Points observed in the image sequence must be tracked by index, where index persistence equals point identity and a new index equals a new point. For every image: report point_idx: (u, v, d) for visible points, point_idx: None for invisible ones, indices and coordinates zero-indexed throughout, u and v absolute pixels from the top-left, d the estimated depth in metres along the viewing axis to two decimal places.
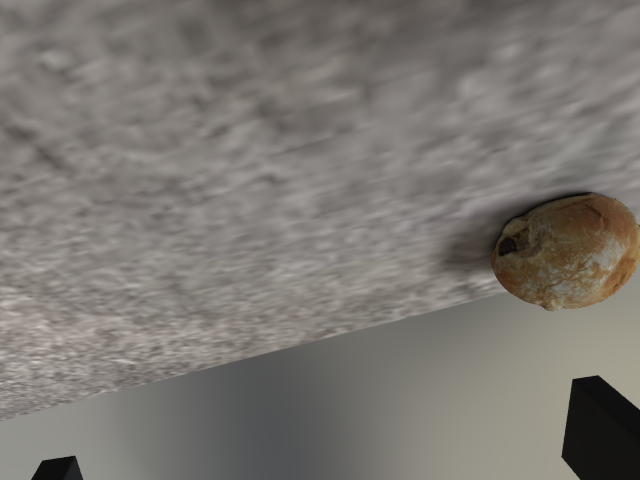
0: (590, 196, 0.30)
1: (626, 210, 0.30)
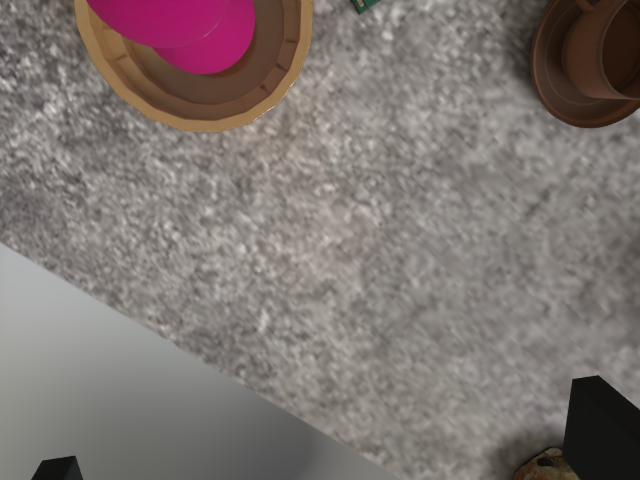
0: None
1: None
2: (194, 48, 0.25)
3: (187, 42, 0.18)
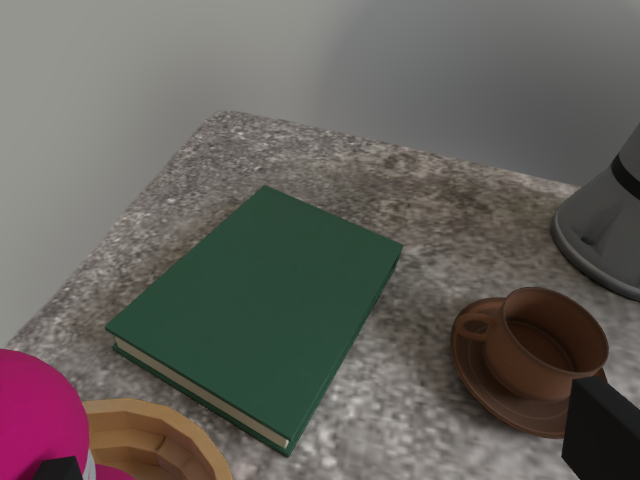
0: None
1: None
2: None
3: None
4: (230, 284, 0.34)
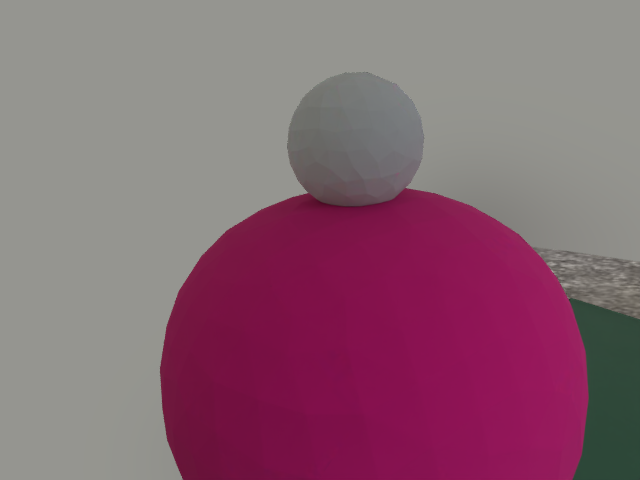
0: None
1: None
2: None
3: None
4: None
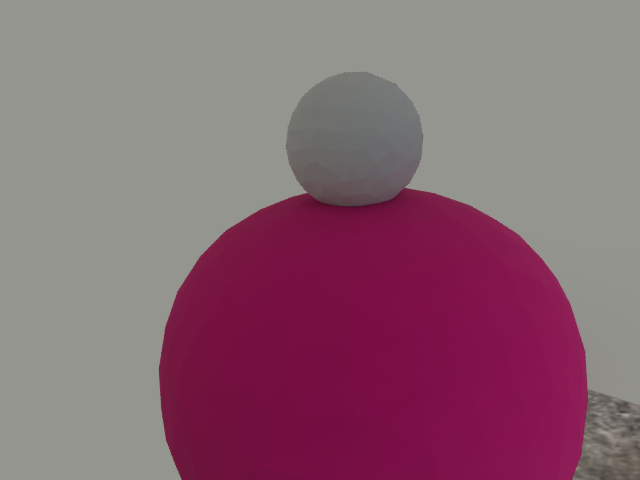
0: None
1: None
2: None
3: None
4: None
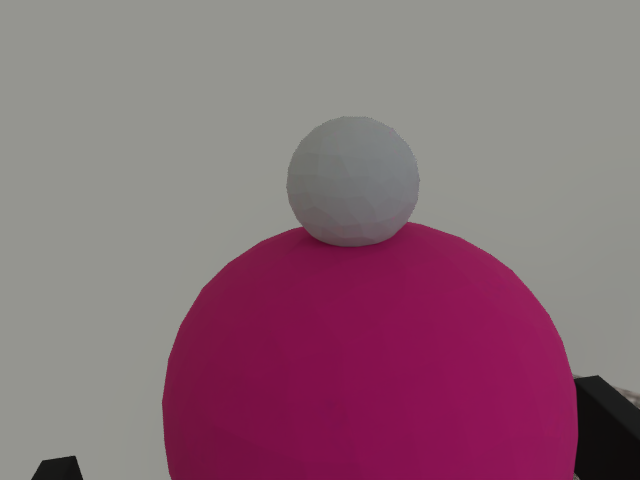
0: None
1: None
2: None
3: None
4: None
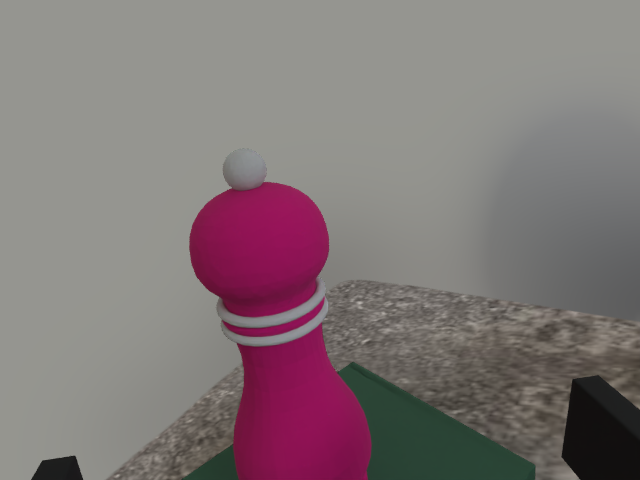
0: None
1: None
2: (297, 418, 0.20)
3: (285, 260, 0.17)
4: None
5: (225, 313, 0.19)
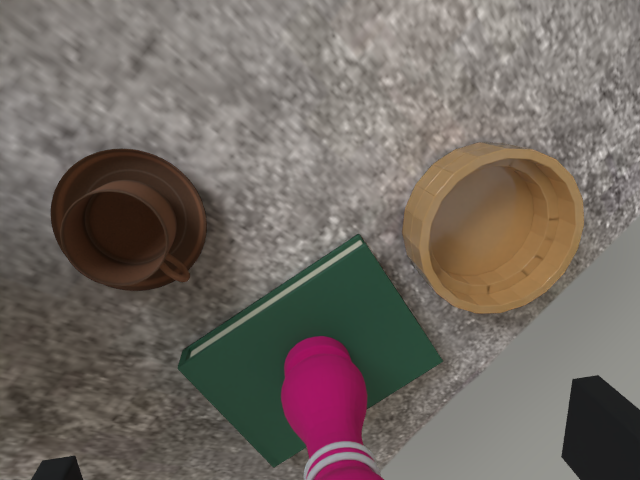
0: None
1: None
2: (328, 401, 0.32)
3: None
4: None
5: (374, 467, 0.28)
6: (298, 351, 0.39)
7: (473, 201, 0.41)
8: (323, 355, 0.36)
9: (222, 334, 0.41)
